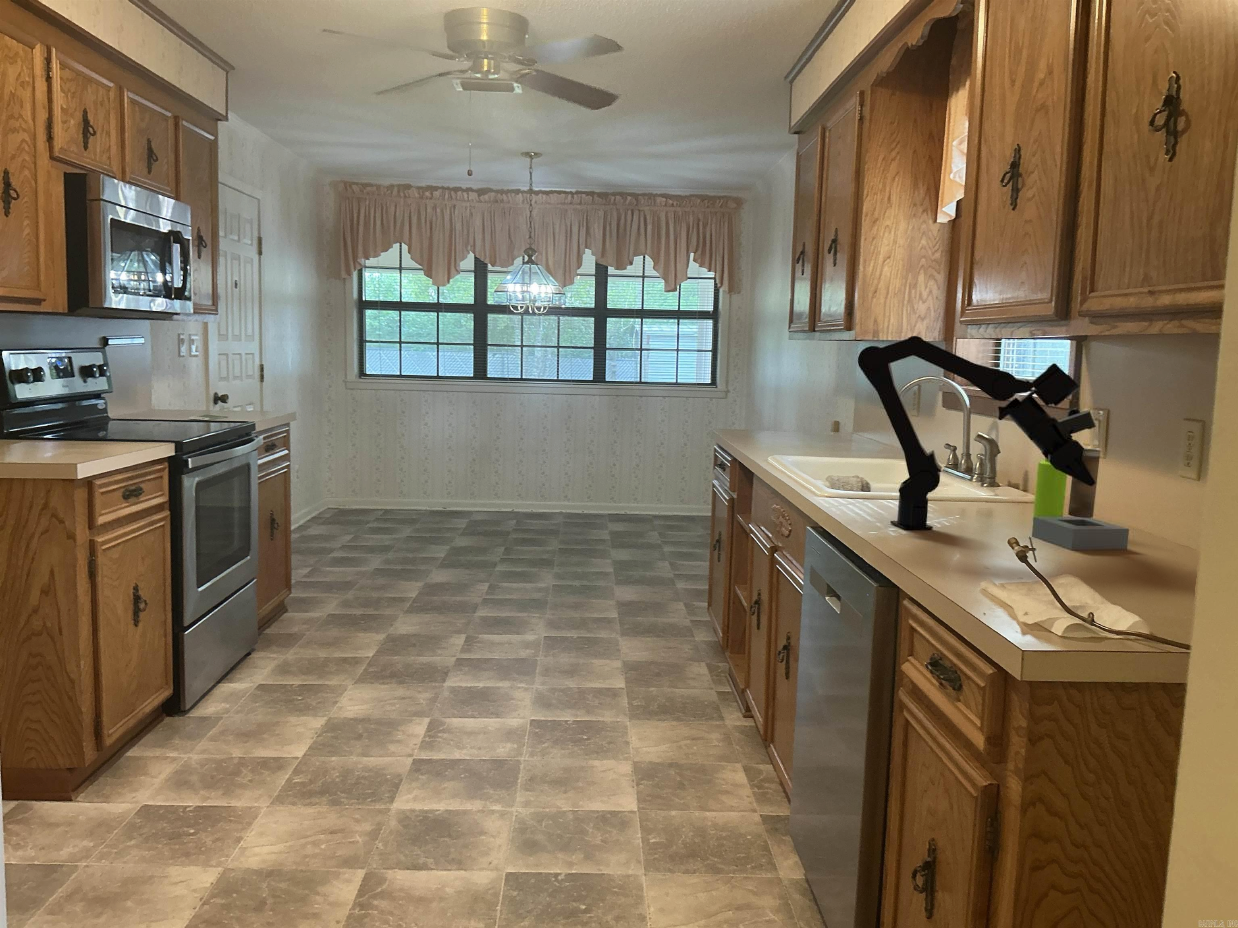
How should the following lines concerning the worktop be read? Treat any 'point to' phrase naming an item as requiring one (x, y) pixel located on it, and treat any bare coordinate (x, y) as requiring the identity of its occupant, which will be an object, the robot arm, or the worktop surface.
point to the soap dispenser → (1049, 491)
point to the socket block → (1080, 533)
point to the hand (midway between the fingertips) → (1091, 483)
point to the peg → (1085, 487)
